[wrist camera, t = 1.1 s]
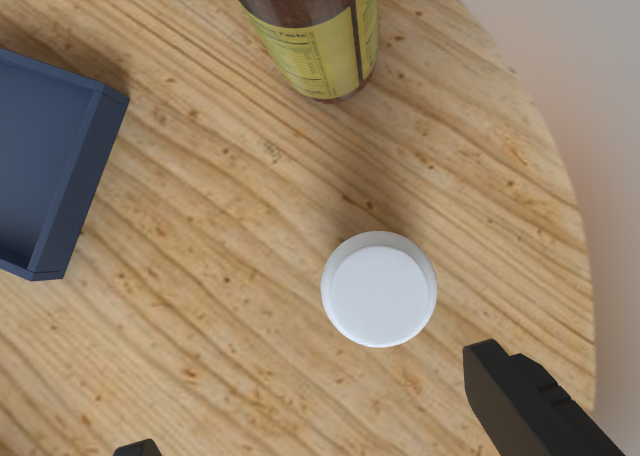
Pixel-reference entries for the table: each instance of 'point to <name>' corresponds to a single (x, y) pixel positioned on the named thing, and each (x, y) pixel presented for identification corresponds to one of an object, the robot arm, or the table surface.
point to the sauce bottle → (319, 43)
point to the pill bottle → (379, 289)
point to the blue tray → (49, 160)
